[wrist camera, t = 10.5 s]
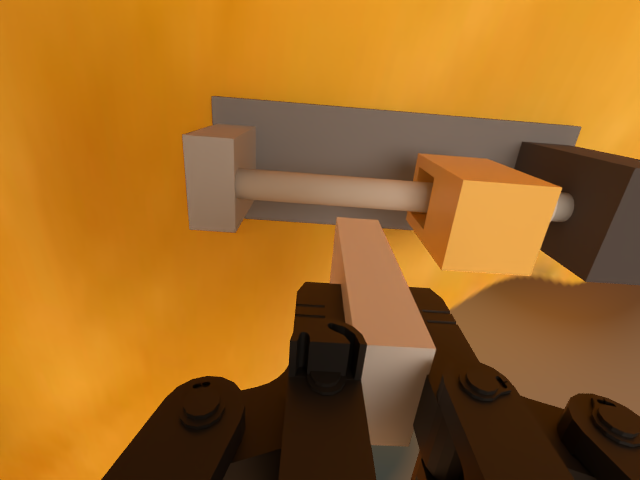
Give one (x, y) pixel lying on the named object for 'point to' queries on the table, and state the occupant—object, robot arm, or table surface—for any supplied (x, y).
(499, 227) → the sleeve
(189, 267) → the table surface
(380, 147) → the rail
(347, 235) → the robot arm
